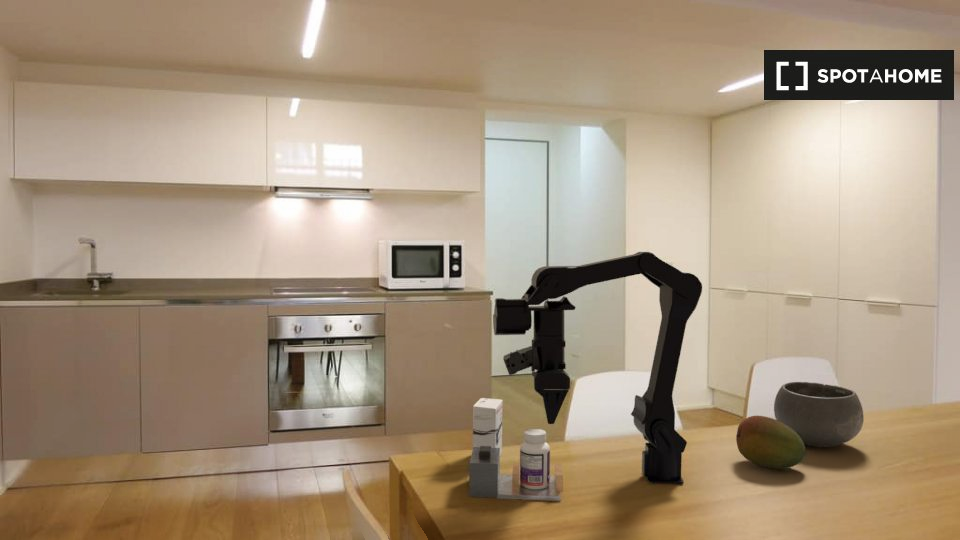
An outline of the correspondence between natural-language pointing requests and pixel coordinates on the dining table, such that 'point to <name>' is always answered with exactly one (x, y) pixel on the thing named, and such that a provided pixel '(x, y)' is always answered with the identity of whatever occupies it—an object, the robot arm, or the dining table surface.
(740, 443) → the fruit
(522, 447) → the pill bottle
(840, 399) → the bowl
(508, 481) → the grey block with slats
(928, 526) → the dining table surface
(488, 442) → the ink box
